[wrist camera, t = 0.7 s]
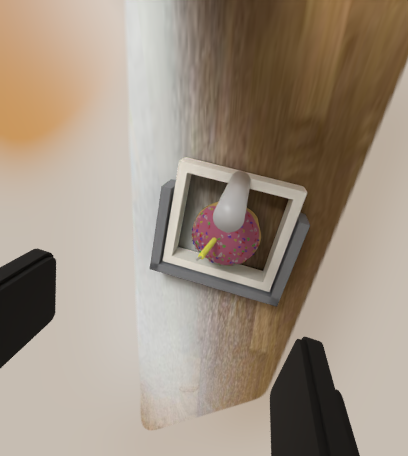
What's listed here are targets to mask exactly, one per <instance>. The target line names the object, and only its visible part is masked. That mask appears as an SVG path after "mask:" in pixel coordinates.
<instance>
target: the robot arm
mask: <svg viewBox="0 0 408 456" xmlns="http://www.w3.org/2000/svg"><path fill="white" fill-rule="evenodd" d="M55 291H56V260H55V258H53V255H52V254H51V253H49V252H46V251H43V250H40V249H33V250H31V251H30V252H28V253H26V254H24V255H22V256H20V257H19V258H17V259H15V260H13V261H11V262H10V263H8V264H6V265H4V266H2V267H0V368H1V367H2V366H3V365H4V364H6V362H8V361H9V360H10V359H11V358H12V357H13V356H14V355H15V354H16V353H17V352H18V351H19V350H21V349H22V348H23V347H24V346H25V345H26V344H27V343H28V342H29V341H30V340H31V339H32V338H33V337H34V336H36V335H37V334H38V333H39V332H40V331H41V330H42V329H43V328H44V327H45V326H46V325H47V324H48V323H49V322H50V321H51V320H52V319H53V317H54V315H55V293H56V292H55ZM270 420H271V421H270V422H271V456H360V455H359V452H358V448H357V445H356V442H355V438H354V435H353V431H352V428H351V425H350V422H349V418H348V414H347V411H346V408H345V404H344V401H343V398H342V395H341V393H340V392H339V391H338V390H335V387H334V384H333V380H332V376H331V373H330V369H329V365H328V362H327V358H326V354H325V351H324V347H323V344H322V343H321V342H320V341H317V340H314V339H311V338H308V337H303V338H302V340H300V339H297V340H296V341H295V343H294V346H293V347H292V349H291V351H290V354H289V355H288V358H287V360H286V361H285V363H284V365H283V367H282V370H281V372H280V374H279V376H278V377H277V379H276V381H275V384H274V386H273V387H272V390H271V394H270Z"/></svg>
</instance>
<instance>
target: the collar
mask: <svg viewBox="0 0 408 456" xmlns="http://www.w3.org/2000/svg"><path fill="white" fill-rule="evenodd" d="M192 174H194V175H198V176H202V177H206V178H210V179H214V180H218V181H222V182H226V183H228V184H227V186H226V188H225V190H224V192H223V194H222V196H221V198H220V200H219V202H218V204H217V206H216V208H215V210H214V213H213V221H214V224H215V225H216V227H217V228H218V229H220V230H221V231H224V232H235V231H237V230H238V229H240V228H241V227H242V225H243V223H244V219H245V213H246V207H247V201H248V195H249V189H253V190H257V191H261V192H265V193H269V194H273V195H277V196H281V197H284V198H288V199H289V200H288V203H287V205H286V208H285V211H284V214H283V217H282V219H281V222H280V225H279V228H278V231H277V233H276V236H275V239H274V242H273V245H272V248H271V250H270V253H269V256H268V259H267V262H266V264H265V267H264V270H263V271H262V270H258V269H254V268H251V267H247V266H244V265H240V264H236V265H233V266H231V265H230V266H228V265H221V266H220V264H215V263H214V262H213V263H212V262H210V261H211V260H209V259H207V258H204V259H199V260H198V261H196V259H197V258H198V255H199V254H200V253H198V252H195V251H191V250H188V249H184V248H181V247H178V244H179V238H180V233H181V228H182V223H183V217H184V212H185V207H186V201H187V196H188V191H189V185H190V180H191V175H192ZM306 195H307V191H306V189H305V188H304V186H300V185H296V184H292V183H288V182H284V181H280V180H276V179H272V178H268V177H264V176H260V175H256V174H252V173H248V172H244V171H240V170H236V169H232V168H228V167H224V166H220V165H216V164H212V163H208V162H204V161H200V160H196V159H192V158H188V157H185V158H183V159H181V160H179V165H178V171H177V177H176V183H175V189H174V195H173V201H172V207H171V213H170V219H169V225H168V231H167V237H166V243H165V249H164V255H163V261H164V262H168V263H171V264H174V265H178V266H181V267H185V268H188V269H192V270H195V271H198V272H202V273H205V274H209V275H212V276H216V277H219V278H222V279H226V280H229V281H233V282H236V283H240V284H243V285H247V286H250V287H253V288H257V289H260V290H264V291H267V292H270V289H271V286H272V284H273V281H274V279H275V276H276V273H277V271H278V268H279V265H280V263H281V260H282V258H283V255H284V252H285V250H286V247H287V245H288V242H289V239H290V237H291V234H292V232H293V229H294V226H295V224H296V221H297V218H298V216H299V213H300V211H301V208H302V205H303V203H304V200H305V198H306Z"/></svg>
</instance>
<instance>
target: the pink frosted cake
mask: <svg viewBox="0 0 408 456" xmlns="http://www.w3.org/2000/svg"><path fill="white" fill-rule="evenodd" d="M217 204H218V202H216V203H213V204H211V205H208V206H207V207H205V208H204V209H203V210H202V211H201V212H200V213H199V214H198V216H197V218H196V220H195V222H194V225H193V228H192V239H193V240H192V241H193V244H194V245H195V248H196V249H198V251H199V252H200V254H199V255H198V258H197V259H196V261H198V260H199V259H204V258H207V259H209V260H211V261H210V262H212V263H213V262H214V263H215V264H220V266H221V265H228V266H230V265H231V266H233V265H236V264H240V263H243V262H246V260H247V259H248V258H250V257H251V256H252V255H254V253H255V251H256V250H257V248H258V246H259V244H260V241H261V231H260V227H259V221H258V218H257V216H256V215H255V214H254V213H253V212H252V211H251V210H250V209H248V208H247V207H246V213H245V219H244V223H243V225H242V227H241V228H240V229H238V230H237V231H235V232H224V231H221V230H220V229H218V228H217V227H216V225H215V224H214V221H213V213H214V210H215V208H216V206H217Z"/></svg>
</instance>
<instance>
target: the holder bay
mask: <svg viewBox="0 0 408 456" xmlns="http://www.w3.org/2000/svg"><path fill="white" fill-rule="evenodd" d="M175 183H176V180H172V179H171V180H170V181H168V182H167V183H166V184H164V185H163V186H162V188H161V194H160V201H159V208H158V215H157V222H156V229H155V236H154V243H153V250H152V257H151V264H150V269H151V270H155V271H158V272H162V273H165V274H168V275H172V276H175V277H178V278H182V279H185V280H189V281H192V282H195V283H199V284H202V285H206V286H209V287H212V288H216V289H219V290H222V291H226V292H229V293H233V294H236V295H239V296H243V297H246V298H249V299H253V300H256V301H260V302H263V303H266V304H270V305H273V306H277V305H278V303H279V300H280V298H281V295H282V293H283V290H284V288H285V286H286V283H287V281H288V278H289V276H290V273H291V271H292V268H293V266H294V264H295V261H296V259H297V256H298V254H299V251H300V249H301V246H302V244H303V242H304V239H305V237H306V234H307V232H308V229H309V227H310V224H309V222H308V219H307V217H306V215H305V214H303V213H299V216H298V218H297V221H296V224H295V226H294V229H293V232H292V234H291V237H290V239H289V242H288V245H287V247H286V250H285V252H284V255H283V258H282V260H281V263H280V265H279V268H278V271H277V273H276V276H275V279H274V281H273V284H272V286H271V289H270V292H267V291H264V290H260V289H257V288H253V287H250V286H247V285H243V284H240V283H236V282H233V281H229V280H226V279H222V278H219V277H216V276H212V275H209V274H205V273H202V272H198V271H195V270H192V269H188V268H185V267H181V266H178V265H174V264H171V263H168V262H164V261H163V255H164V249H165V243H166V237H167V231H168V225H169V219H170V213H171V207H172V201H173V195H174V189H175Z"/></svg>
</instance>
